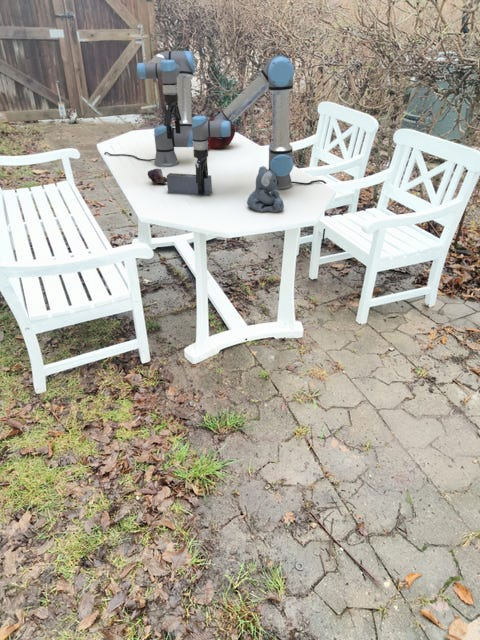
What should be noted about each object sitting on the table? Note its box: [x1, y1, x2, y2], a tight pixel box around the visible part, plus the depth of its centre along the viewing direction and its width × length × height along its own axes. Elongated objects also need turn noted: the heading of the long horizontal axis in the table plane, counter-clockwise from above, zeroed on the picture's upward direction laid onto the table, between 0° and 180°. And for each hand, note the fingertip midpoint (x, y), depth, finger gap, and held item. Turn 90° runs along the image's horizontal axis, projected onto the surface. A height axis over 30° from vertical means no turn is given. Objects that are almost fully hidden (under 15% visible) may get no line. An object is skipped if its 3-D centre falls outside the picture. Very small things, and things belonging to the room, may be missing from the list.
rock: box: [147, 168, 167, 185], centre depth 259 cm, size 12×9×10 cm
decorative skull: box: [207, 116, 236, 152], centre depth 325 cm, size 21×24×25 cm
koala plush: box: [246, 165, 285, 213], centre depth 222 cm, size 17×18×20 cm
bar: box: [165, 172, 213, 197], centre depth 244 cm, size 24×5×10 cm, turn 77°
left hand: (174, 136), depth 250 cm, fingers open, 13 cm apart
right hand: (203, 192), depth 245 cm, fingers open, 8 cm apart
